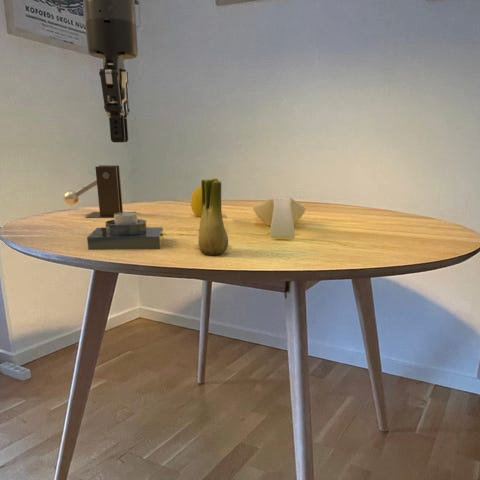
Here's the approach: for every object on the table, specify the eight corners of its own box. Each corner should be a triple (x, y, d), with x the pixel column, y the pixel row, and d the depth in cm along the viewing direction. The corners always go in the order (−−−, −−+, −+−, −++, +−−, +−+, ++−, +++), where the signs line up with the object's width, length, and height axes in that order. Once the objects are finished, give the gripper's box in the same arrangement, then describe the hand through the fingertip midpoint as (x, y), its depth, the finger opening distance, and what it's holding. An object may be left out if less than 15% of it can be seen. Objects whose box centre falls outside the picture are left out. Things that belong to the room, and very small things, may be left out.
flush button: (112, 225, 80) (112, 215, 80) (116, 222, 84) (115, 212, 83) (136, 225, 81) (135, 215, 80) (139, 221, 84) (138, 212, 84)
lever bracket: (86, 222, 104) (80, 166, 100) (93, 216, 111) (88, 164, 107) (132, 222, 105) (128, 167, 100) (136, 216, 112) (132, 165, 108)
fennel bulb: (199, 249, 80) (197, 176, 76) (227, 249, 80) (228, 177, 76) (197, 257, 75) (196, 179, 70) (228, 257, 75) (228, 180, 71)
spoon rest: (252, 219, 110) (253, 188, 108) (302, 220, 110) (304, 188, 108) (252, 239, 88) (253, 201, 86) (314, 240, 88) (317, 202, 86)
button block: (88, 250, 79) (85, 226, 77) (98, 239, 87) (96, 217, 86) (160, 249, 80) (158, 225, 79) (163, 238, 88) (162, 217, 87)
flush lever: (68, 208, 105) (59, 196, 104) (71, 206, 108) (62, 194, 107) (116, 178, 103) (108, 165, 102) (118, 177, 106) (110, 164, 105)
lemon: (199, 218, 112) (198, 183, 109) (219, 220, 109) (219, 184, 106) (186, 221, 107) (185, 185, 104) (207, 223, 105) (207, 186, 102)
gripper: (94, 30, 77) (104, 141, 84) (74, 8, 64) (88, 142, 71) (140, 31, 78) (146, 142, 84) (130, 10, 65) (138, 143, 71)
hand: (120, 141), depth 77 cm, fingers open, 3 cm apart
